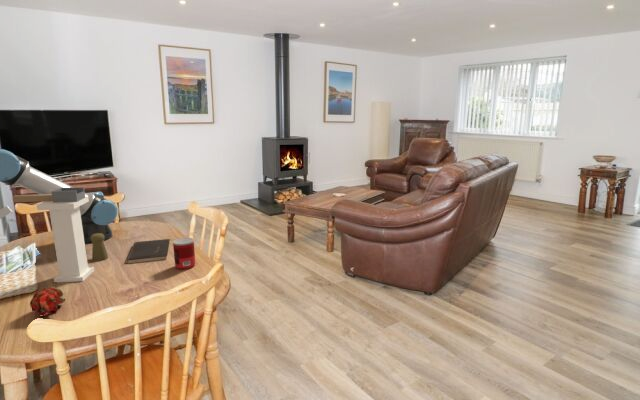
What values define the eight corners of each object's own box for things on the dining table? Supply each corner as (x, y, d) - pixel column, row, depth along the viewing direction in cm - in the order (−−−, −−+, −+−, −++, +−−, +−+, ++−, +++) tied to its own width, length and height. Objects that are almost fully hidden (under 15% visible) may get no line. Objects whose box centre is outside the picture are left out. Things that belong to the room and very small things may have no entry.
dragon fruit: (59, 306, 130) (47, 330, 120) (32, 296, 127) (17, 319, 116) (73, 287, 129) (61, 309, 119) (46, 276, 126) (31, 298, 115)
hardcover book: (170, 243, 189) (170, 238, 188) (167, 260, 168) (167, 255, 167) (134, 246, 184) (133, 242, 184) (126, 264, 163) (126, 259, 162)
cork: (101, 261, 165) (97, 236, 162) (88, 260, 166) (85, 235, 163) (111, 256, 171) (108, 232, 168) (99, 255, 172) (96, 231, 169)
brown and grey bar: (9, 203, 138) (7, 192, 137) (21, 199, 144) (19, 188, 143) (77, 201, 141) (75, 190, 140) (85, 197, 148) (84, 187, 147)
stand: (49, 283, 144) (36, 204, 137) (65, 270, 155) (54, 197, 148) (84, 282, 145) (73, 203, 138) (98, 269, 157) (88, 196, 150)
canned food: (199, 263, 162) (197, 238, 160) (187, 271, 155) (184, 244, 152) (184, 261, 165) (181, 236, 162) (171, 268, 157) (168, 242, 155)
